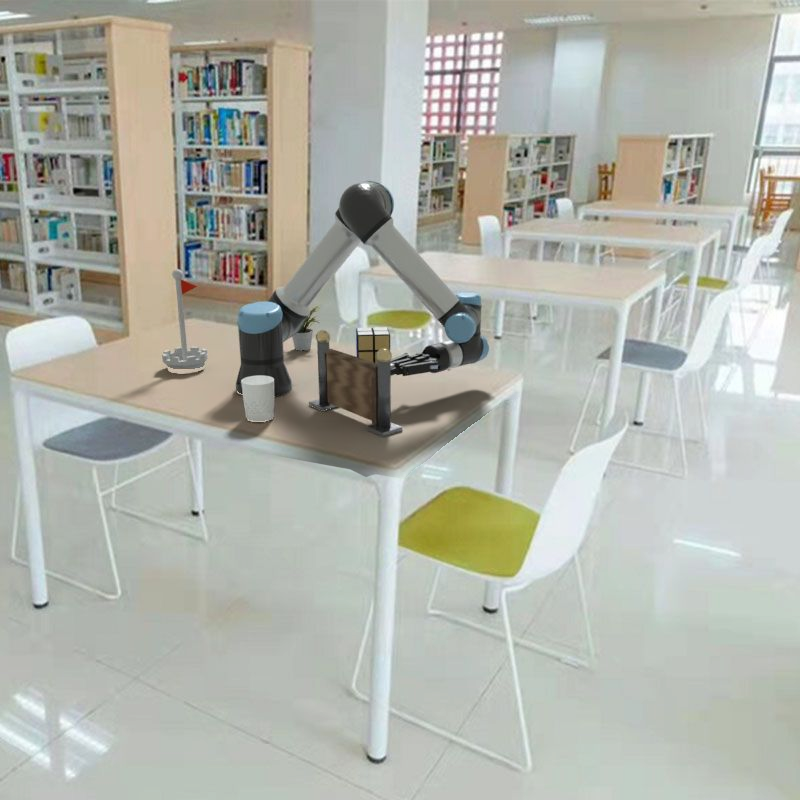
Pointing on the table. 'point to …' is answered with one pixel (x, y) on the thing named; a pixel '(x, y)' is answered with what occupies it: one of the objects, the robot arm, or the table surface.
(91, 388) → the table surface
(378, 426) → the gate posts
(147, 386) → the table surface
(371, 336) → the puzzle cube
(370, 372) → the panel
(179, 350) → the flag stand
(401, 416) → the table surface
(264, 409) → the white cup
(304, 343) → the house plant
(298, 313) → the robot arm
